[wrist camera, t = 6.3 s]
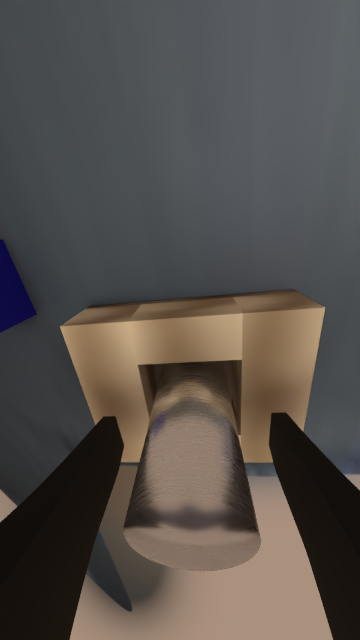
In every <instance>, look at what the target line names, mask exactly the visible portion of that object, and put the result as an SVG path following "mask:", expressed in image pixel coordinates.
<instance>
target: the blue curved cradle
mask: <svg viewBox="0 0 360 640" xmlns="http://www.w3.org/2000/svg"><path fill="white" fill-rule="evenodd" d="M34 315H36V311H35V309H34V307H33V305H32V303H31V300H30V298H29V296H28V294H27V292H26V289H25V287H24V285H23V283H22V281H21V279H20V276H19V274H18V272H17V270H16V268H15V265H14V263H13V261H12V259H11V257H10V254H9V252H8V250H7V248H6V246H5V244H4V241H3V240H0V332H2V331H4V330H6V329H8V328H10V327H12V326H14V325H16V324H18V323H20V322H22V321H24V320H26V319H28V318H30V317H32V316H34Z"/></svg>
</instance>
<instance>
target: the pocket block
mask: <svg viewBox="0 0 360 640" xmlns="http://www.w3.org/2000/svg"><path fill="white" fill-rule="evenodd" d="M324 312H325V307H323V306H322V305H320V304H318V303H316V302H315V301H313V300H311V299H309V298H308V297H306V296H304V295H302V294H300V293H299V292H297V291H295V290H283V291H271V292H258V293H246V294H233V295H221V296H209V297H196V298H184V299H172V300H159V301H147V302H134V303H122V304H110V305H97V306H89V307H88V308H86V309H85V310H83V311H82V312H80V313H79V314H77V315H76V316H74V317H73V318H71V319H70V320H69V321H67V322H66V323H64V324H63V325H61V326H60V328H61V331H62V334H63V336H64V339H65V342H66V345H67V347H68V350H69V353H70V356H71V358H72V361H73V364H74V367H75V369H76V372H77V375H78V378H79V381H80V383H81V386H82V389H83V392H84V394H85V397H86V400H87V403H88V405H89V408H90V411H91V414H92V416H93V419H94V422H95V425H96V424H97V423H98V422H99V421H100V420H101V419H102V417H103V416H116V419H117V423H118V426H119V429H120V433H121V436H122V439H123V442H124V450H123V454H122V459H121V462H140V458H141V454H142V449H143V445H144V441H145V437H146V433H147V429H148V425H149V421H150V417H151V413H152V409H153V405H154V400H155V396H156V392H157V388H158V384H159V380H160V376H161V372H162V368H163V364H164V363H183V362H203V361H222V363H223V366H224V371H225V375H226V380H227V385H228V389H229V394H230V399H231V403H232V408H233V412H234V417H235V422H236V426H237V431H238V436H239V440H240V445H241V450H242V454H243V459H244V462H273V459H272V455H271V452H270V448H269V434H270V423H271V413H278V412H286V413H287V414H288V415H289V416H290V417H291V418H292V419H293V421H294V422H295V423H296V424H297V425H298V426H299V428H300V429H301V430H302V431H303V430H304V424H305V419H306V413H307V407H308V402H309V396H310V390H311V385H312V379H313V374H314V368H315V362H316V357H317V351H318V345H319V340H320V334H321V329H322V323H323V317H324Z"/></svg>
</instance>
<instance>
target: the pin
mask: <svg viewBox="0 0 360 640" xmlns="http://www.w3.org/2000/svg"><path fill="white" fill-rule="evenodd" d="M123 532H124V536H125V538H126V541H127V542H128V543H129V545H130V546H131V547H132V548H133V549H134V550H135V551H137V552H138V553H139V554H141V555H142V556H144V557H146V558H148V559H150V560H152V561H154V562H157V563H160V564H162V565H165V566H169V567H173V568H178V569H183V570H193V571H214V570H222V569H227V568H231V567H234V566H238V565H240V564H242V563H244V562H246V561H248V560H250V559H251V558H252V557H253V556H254V555H255V554H256V553H257V552H258V550H259V548H260V545H261V539H260V534H259V529H258V524H257V520H256V515H255V510H254V506H253V501H252V496H251V492H250V487H249V482H248V478H247V473H246V468H245V464H244V459H243V454H242V450H241V445H240V440H239V436H238V431H237V426H236V422H235V417H234V412H233V408H232V403H231V399H230V394H229V389H228V385H227V380H226V375H225V371H224V366H223V363H222V361H203V362H183V363H164V364H163V368H162V372H161V376H160V380H159V384H158V388H157V392H156V396H155V400H154V405H153V409H152V413H151V417H150V421H149V425H148V429H147V433H146V437H145V441H144V445H143V449H142V454H141V458H140V462H139V466H138V470H137V474H136V478H135V482H134V486H133V490H132V494H131V499H130V503H129V507H128V511H127V515H126V519H125V523H124V529H123Z"/></svg>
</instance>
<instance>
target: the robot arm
mask: <svg viewBox="0 0 360 640" xmlns="http://www.w3.org/2000/svg"><path fill="white" fill-rule="evenodd" d="M269 448H270V452H271V455H272V459H273V463H274V466H275V470H276V473H277V475H278V478H279V480H280V483H281V486H282V489H283V491H284V494H285V496H286V499H287V501H288V504H289V507H290V509H291V512H292V515H293V517H294V520H295V523H296V525H297V528H298V530H299V533H300V536H301V538H302V541H303V543H304V546H305V549H306V552H307V555H308V558H309V561H310V564H311V567H312V571H313V574H314V577H315V580H316V584H317V587H318V590H319V593H320V597H321V600H322V603H323V606H324V610H325V613H326V617H327V620H328V623H329V627H330V630H331V633H332V636H333V640H360V490H358V489H357V487H355V486H354V485H353V484H352V483H351V482H350V481H349V480H348V479H347V478H346V477H345V476H344V475H343V474H342V473H341V472H340V471H339V470H338V469H337V468H336V466H335V465H334V464H333V463H332V462H331V461H330V460H329V459H328V458H327V457H326V456H325V455H324V454H323V453H322V452H321V451H320V450H319V449H318V448H317V446H316V445H315V444H314V443H313V442H312V441H311V440H310V439H309V438H308V437H307V435H306V434H305V433H304V432H303V431H302V430H301V429H300V428H299V426H298V425H297V424H296V423H295V422H294V421H293V419H292V418H291V417H290V416H289V415H288V414H287V413H286V412H278V413H271V423H270V434H269ZM123 450H124V442H123V439H122V436H121V433H120V429H119V426H118V423H117V419H116V416H103V417H102V419H101V420H100V421H99V422H98V423H97V424H96V425H95V426H94V427H93V429H92V430H91V431H90V432H89V433H88V434H87V435H86V436H85V438H84V439H83V440H82V441H81V442H80V443H79V444H78V445H77V447H76V448H75V449H74V450H73V451H72V452H71V453H70V454H69V455H68V456H67V458H66V459H65V460H64V461H63V462H62V463H61V464H60V465H59V466H58V467H57V468H56V469H55V470H54V471H53V472H52V473H51V474H50V475H49V476H48V477H47V479H46V480H45V481H44V482H43V483H42V484H41V485H40V486H39V487H38V488H37V489H36V490H35V491H34V492H33V493H32V494H31V495H30V496H28V497H27V498H26V499H25V500H24V501H23V502H22V503H21V504H20V505H19V506H18V507H17V508H16V509H15V510H13V511H12V512H11V513H10V514H9V515H8V516H7V517H6V518H5V519H4V520H2V521H1V522H0V640H69V639H70V635H71V631H72V626H73V622H74V618H75V614H76V610H77V606H78V602H79V598H80V594H81V590H82V586H83V582H84V579H85V575H86V571H87V567H88V564H89V560H90V556H91V552H92V549H93V545H94V542H95V539H96V536H97V532H98V529H99V527H100V524H101V521H102V518H103V515H104V512H105V509H106V506H107V503H108V500H109V497H110V495H111V492H112V489H113V486H114V483H115V480H116V477H117V474H118V470H119V467H120V463H121V459H122V454H123Z"/></svg>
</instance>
